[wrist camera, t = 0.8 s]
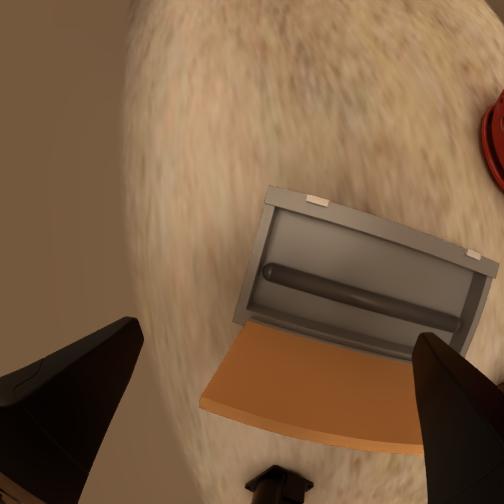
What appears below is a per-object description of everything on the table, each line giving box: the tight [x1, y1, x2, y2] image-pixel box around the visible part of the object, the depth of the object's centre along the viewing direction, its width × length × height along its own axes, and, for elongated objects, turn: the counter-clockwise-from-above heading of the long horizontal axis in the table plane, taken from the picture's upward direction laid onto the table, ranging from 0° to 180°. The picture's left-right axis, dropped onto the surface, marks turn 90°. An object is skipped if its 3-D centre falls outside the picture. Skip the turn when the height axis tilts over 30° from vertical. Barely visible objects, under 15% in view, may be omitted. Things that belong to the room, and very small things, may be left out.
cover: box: [199, 318, 424, 455], centre depth 16 cm, size 10×19×1 cm
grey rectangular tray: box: [232, 185, 499, 361], centre depth 22 cm, size 11×22×5 cm, turn 74°
